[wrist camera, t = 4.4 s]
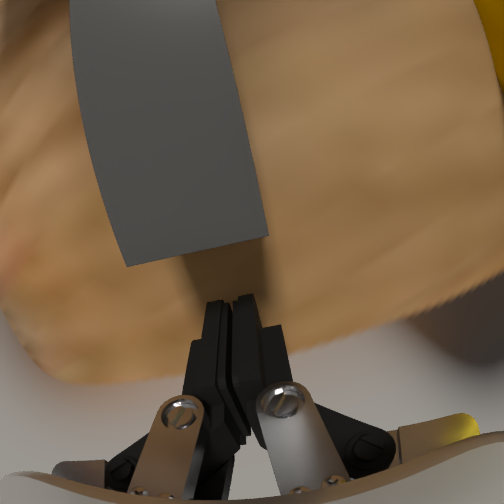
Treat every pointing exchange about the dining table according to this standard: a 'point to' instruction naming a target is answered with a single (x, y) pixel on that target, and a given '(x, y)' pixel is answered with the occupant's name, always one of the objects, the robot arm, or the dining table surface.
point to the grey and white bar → (164, 126)
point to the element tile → (494, 32)
